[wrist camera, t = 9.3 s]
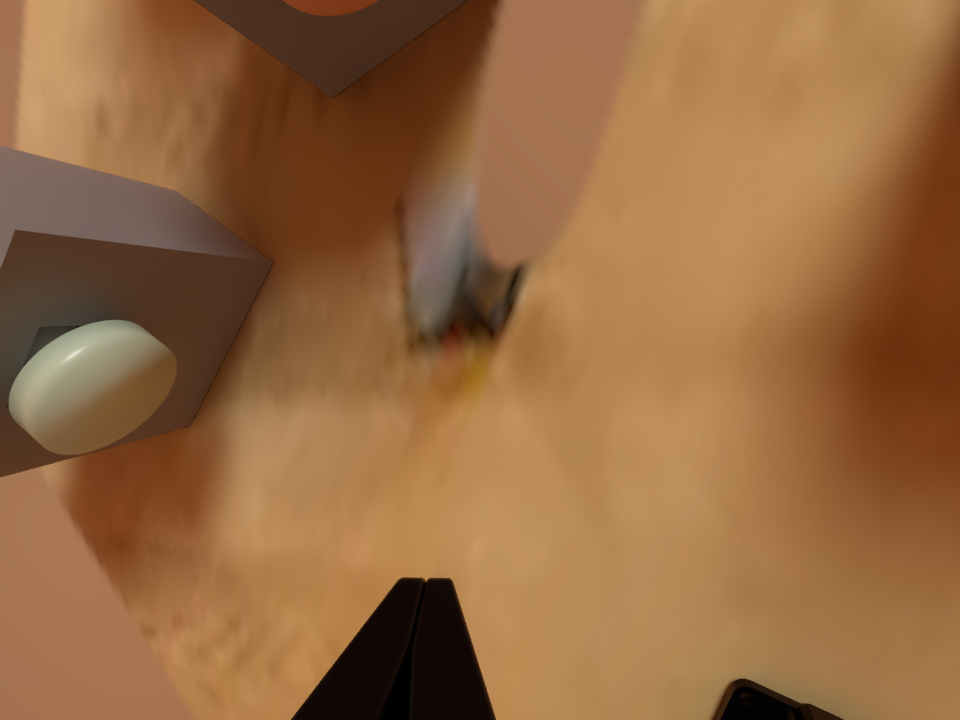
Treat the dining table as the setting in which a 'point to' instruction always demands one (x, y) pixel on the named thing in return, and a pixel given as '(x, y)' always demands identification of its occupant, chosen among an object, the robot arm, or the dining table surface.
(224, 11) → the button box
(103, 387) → the sage button
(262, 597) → the dining table surface
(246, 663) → the dining table surface
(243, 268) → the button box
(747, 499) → the dining table surface
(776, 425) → the dining table surface
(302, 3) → the terracotta button
